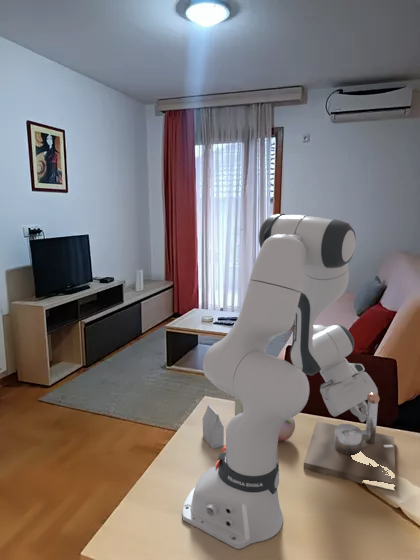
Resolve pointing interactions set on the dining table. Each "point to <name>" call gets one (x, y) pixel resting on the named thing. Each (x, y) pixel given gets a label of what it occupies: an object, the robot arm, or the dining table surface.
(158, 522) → the dining table surface
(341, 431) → the crank handle
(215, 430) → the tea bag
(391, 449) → the stand
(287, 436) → the decorative fruit
